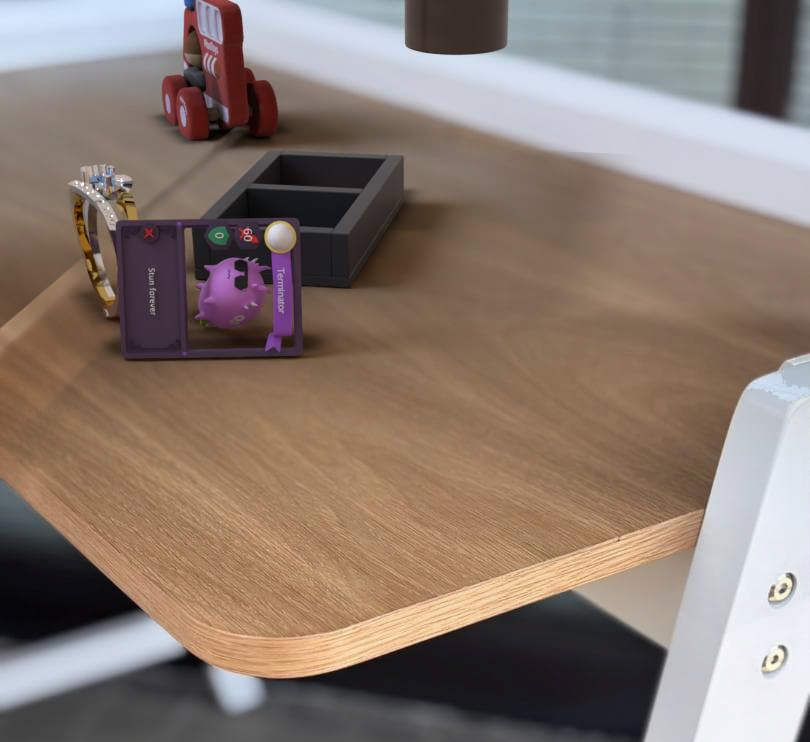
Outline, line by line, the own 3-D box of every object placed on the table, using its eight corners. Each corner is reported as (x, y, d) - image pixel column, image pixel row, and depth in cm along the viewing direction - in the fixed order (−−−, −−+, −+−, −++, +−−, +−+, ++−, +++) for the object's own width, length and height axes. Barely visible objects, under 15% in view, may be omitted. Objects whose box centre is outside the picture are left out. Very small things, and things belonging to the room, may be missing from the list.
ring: (68, 300, 82) (51, 154, 78) (125, 291, 83) (111, 147, 80) (100, 342, 77) (83, 188, 73) (160, 333, 78) (147, 180, 74)
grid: (194, 279, 85) (190, 226, 84) (271, 196, 100) (269, 149, 98) (349, 288, 84) (348, 234, 82) (404, 202, 98) (403, 155, 97)
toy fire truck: (240, 110, 122) (232, -26, 117) (286, 145, 111) (280, -1, 106) (156, 118, 119) (144, -20, 114) (195, 155, 109) (184, 5, 104)
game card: (112, 219, 73) (298, 216, 73) (128, 224, 78) (302, 222, 78) (119, 359, 74) (302, 356, 74) (134, 354, 79) (305, 352, 79)
